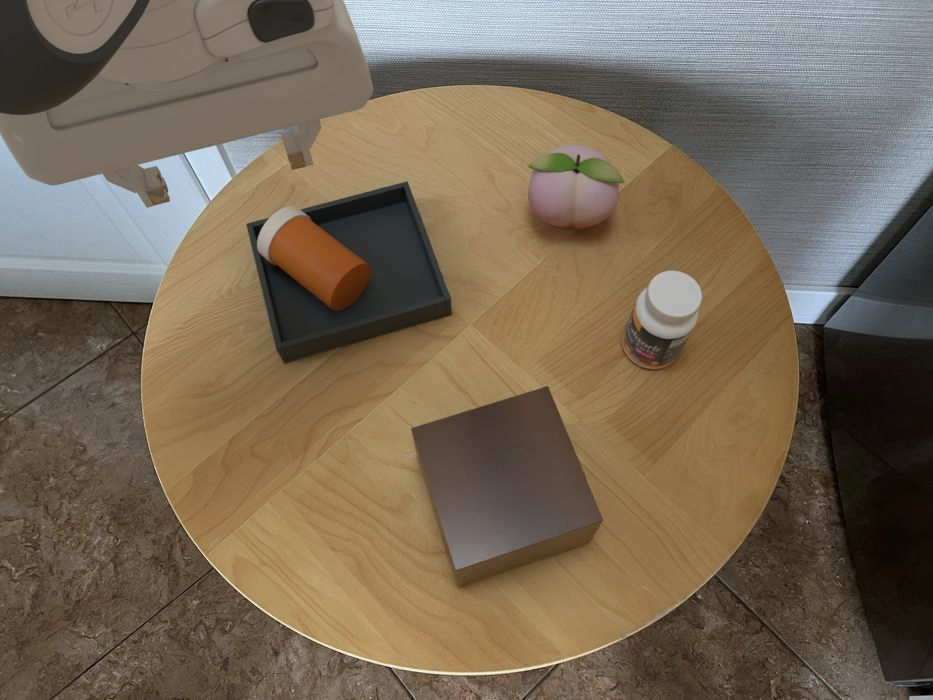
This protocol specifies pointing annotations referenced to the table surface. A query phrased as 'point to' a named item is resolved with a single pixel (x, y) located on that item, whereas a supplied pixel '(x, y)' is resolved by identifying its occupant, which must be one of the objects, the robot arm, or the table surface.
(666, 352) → the pill bottle
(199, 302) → the table surface
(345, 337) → the slate tray
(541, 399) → the walnut block
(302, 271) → the amber pill bottle
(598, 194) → the decorative fruit
